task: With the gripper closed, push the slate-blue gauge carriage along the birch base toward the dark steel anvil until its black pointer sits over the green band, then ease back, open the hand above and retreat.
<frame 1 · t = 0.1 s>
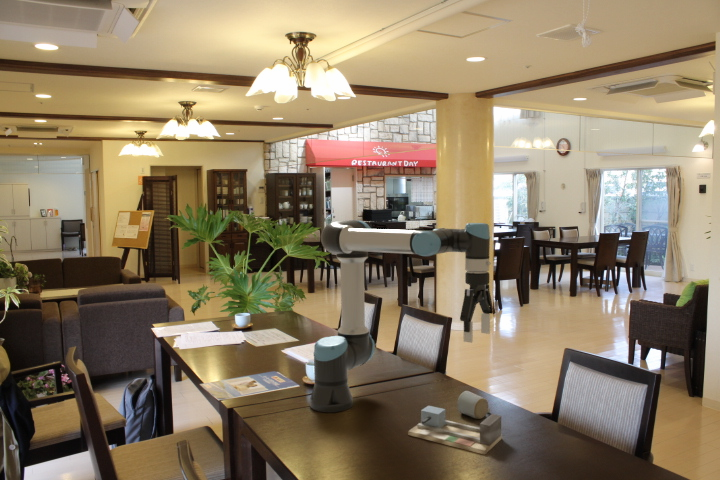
hand: (477, 337, 185), 28 cm above the table, fingers open, 13 cm apart
ceramic mug: (475, 415, 194), on the table
carriage: (430, 419, 180), point 4 cm above the table, slide at 0.0 cm
gauge base: (454, 436, 176), on the table
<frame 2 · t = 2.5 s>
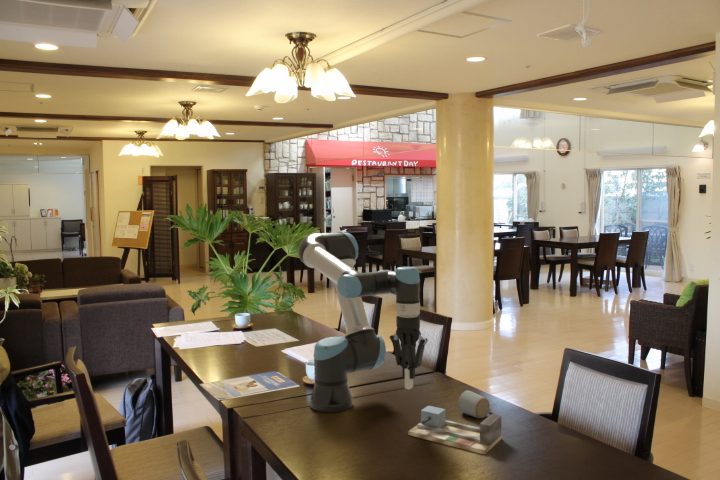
hand: (408, 387, 186), 12 cm above the table, fingers closed
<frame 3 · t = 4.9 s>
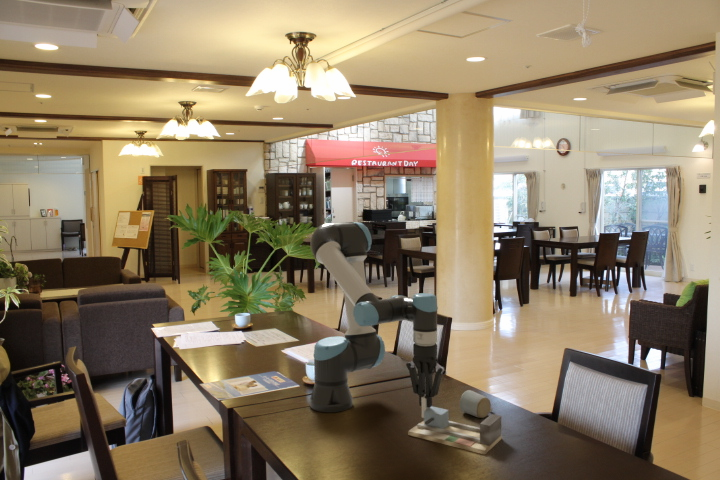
hand: (425, 416, 183), 4 cm above the table, fingers closed
carriage: (433, 420, 179), point 4 cm above the table, slide at 1.1 cm, touching gripper
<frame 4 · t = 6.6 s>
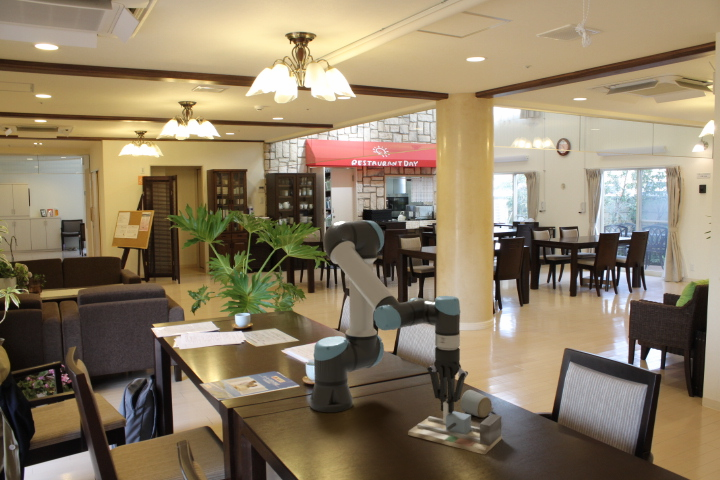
hand: (447, 421, 179), 3 cm above the table, fingers closed
carriage: (455, 425, 175), point 4 cm above the table, slide at 8.6 cm, touching gripper
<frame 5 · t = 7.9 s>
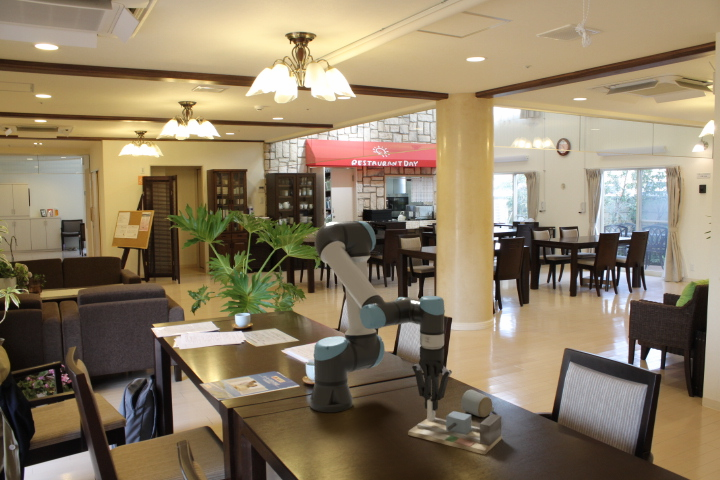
hand: (431, 419, 182), 3 cm above the table, fingers closed
carriage: (455, 425, 175), point 4 cm above the table, slide at 8.7 cm
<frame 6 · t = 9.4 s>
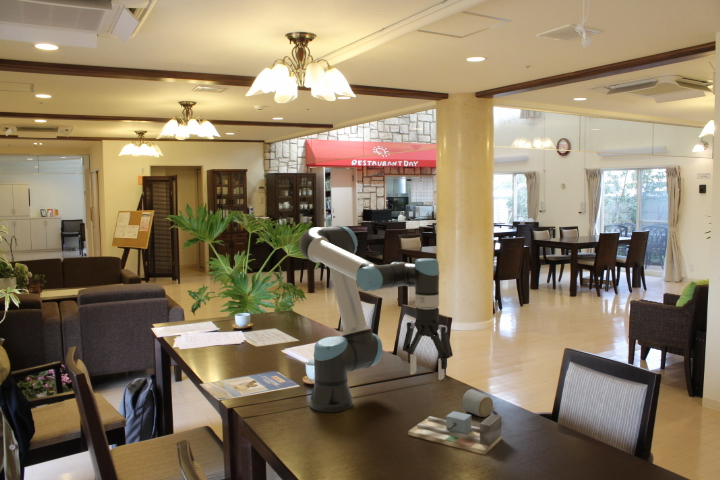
hand: (427, 375, 186), 16 cm above the table, fingers open, 9 cm apart
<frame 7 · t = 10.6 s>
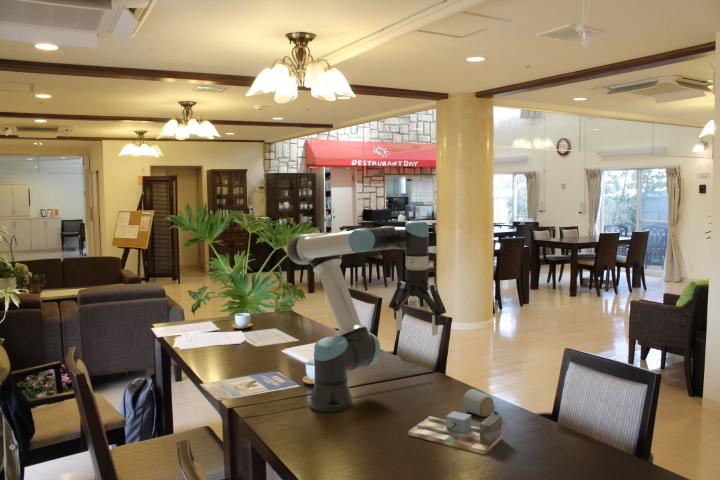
hand: (416, 332, 191), 28 cm above the table, fingers open, 13 cm apart
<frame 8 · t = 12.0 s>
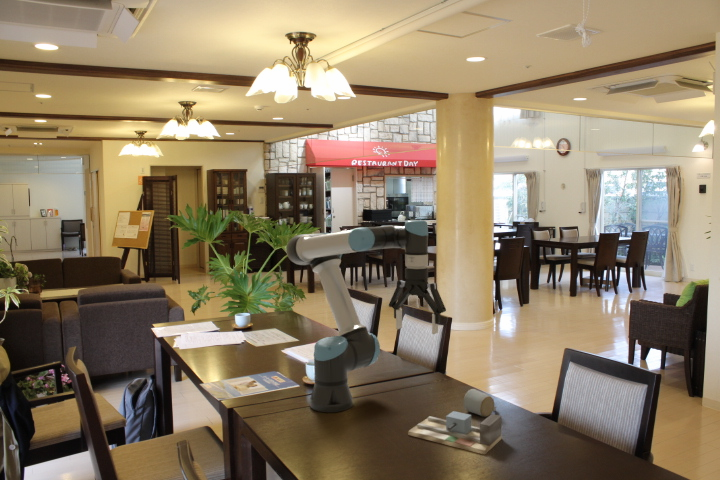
hand: (416, 330, 192), 29 cm above the table, fingers open, 13 cm apart
at the end: carriage slide at 8.7 cm; carriage touching nothing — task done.
